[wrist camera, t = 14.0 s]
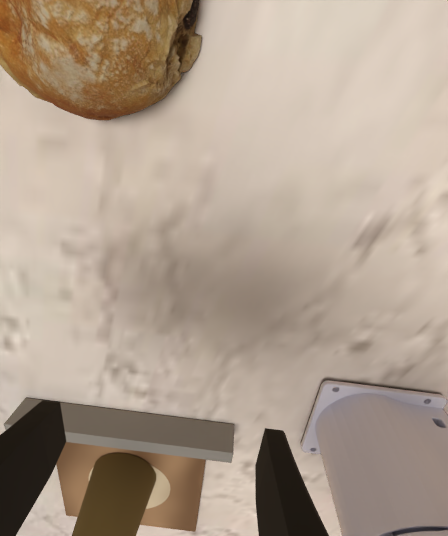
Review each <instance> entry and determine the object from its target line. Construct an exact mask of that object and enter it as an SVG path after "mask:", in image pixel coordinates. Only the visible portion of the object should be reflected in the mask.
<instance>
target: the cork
mask: <svg viewBox="0 0 448 536" xmlns="http://www.w3.org/2000/svg"><path fill="white" fill-rule="evenodd" d="M155 482H156V473H155V471H154V469H153V467H152V466H151V465H150V464H148V463H147V462H146V461H144V460H142V459H141V458H139V457H136V456H133V455H130V454H123V453H113V454H107V455H105V456H102V457H100V458H99V459H98V460H97V461H96V462H95V465H94V467H93V470H92V474H91V477H90V480H89V483H88V486H87V489H86V493H85V496H84V499H83V502H82V505H81V508H80V512H79V515H78V518H77V521H76V524H75V527H74V531H73V534H72V536H136V533H137V531H138V528H139V525H140V523H141V520H142V517H143V515H144V512H145V509H146V507H147V504H148V501H149V499H150V496H151V493H152V490H153V488H154V485H155Z"/></svg>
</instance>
